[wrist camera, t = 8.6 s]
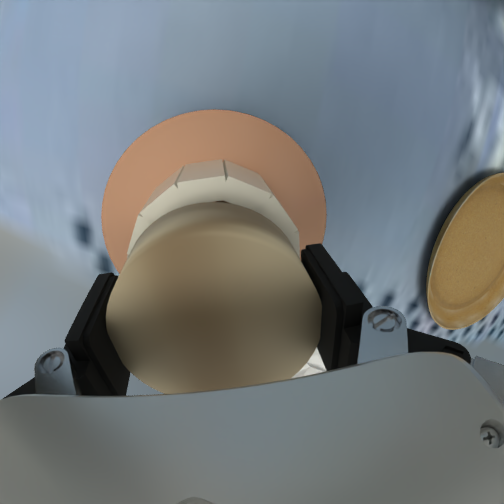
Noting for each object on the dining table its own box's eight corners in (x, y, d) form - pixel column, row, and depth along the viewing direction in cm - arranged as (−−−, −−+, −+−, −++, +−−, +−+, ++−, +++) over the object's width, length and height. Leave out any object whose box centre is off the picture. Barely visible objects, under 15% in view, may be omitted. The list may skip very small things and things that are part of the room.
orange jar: (279, 102, 24) (355, 100, 11) (288, 238, 30) (344, 343, 17) (130, 123, 23) (44, 148, 10) (157, 256, 29) (125, 373, 16)
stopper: (278, 170, 14) (326, 220, 8) (284, 296, 17) (317, 387, 11) (128, 192, 13) (74, 256, 7) (160, 313, 16) (145, 407, 11)
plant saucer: (531, 169, 30) (545, 175, 27) (499, 298, 41) (509, 308, 38) (428, 163, 28) (446, 170, 25) (399, 332, 39) (409, 347, 36)
